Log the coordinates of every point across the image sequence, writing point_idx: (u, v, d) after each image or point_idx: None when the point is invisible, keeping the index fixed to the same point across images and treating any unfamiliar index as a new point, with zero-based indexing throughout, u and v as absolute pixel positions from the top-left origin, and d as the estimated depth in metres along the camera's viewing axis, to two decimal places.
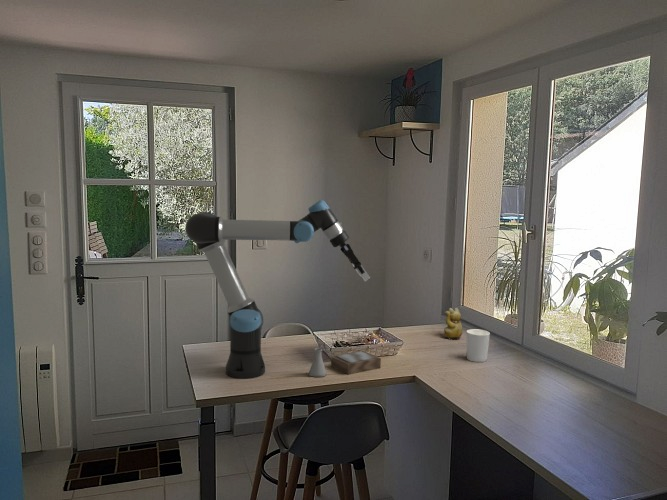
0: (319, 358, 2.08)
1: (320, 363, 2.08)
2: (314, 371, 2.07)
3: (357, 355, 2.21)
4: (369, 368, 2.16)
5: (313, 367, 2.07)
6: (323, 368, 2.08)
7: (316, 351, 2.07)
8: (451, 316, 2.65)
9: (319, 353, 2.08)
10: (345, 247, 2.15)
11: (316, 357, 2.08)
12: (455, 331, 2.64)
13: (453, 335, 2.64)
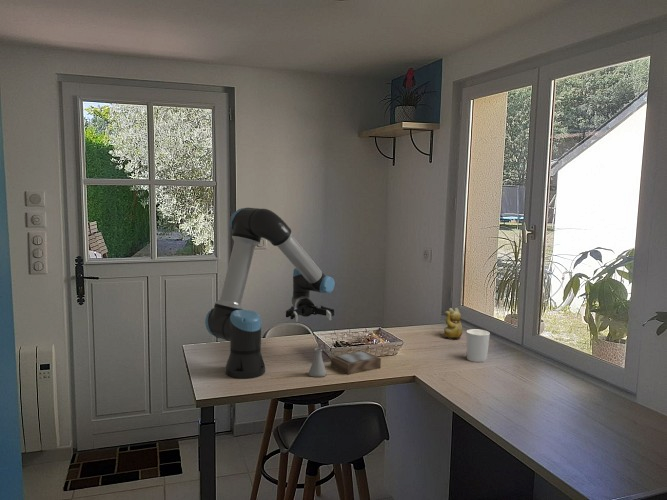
0: (319, 358, 2.08)
1: (320, 363, 2.08)
2: (314, 371, 2.07)
3: (357, 355, 2.21)
4: (369, 368, 2.16)
5: (313, 367, 2.07)
6: (323, 368, 2.08)
7: (316, 351, 2.07)
8: (451, 316, 2.65)
9: (319, 353, 2.08)
10: None
11: (316, 357, 2.08)
12: (455, 331, 2.64)
13: (453, 335, 2.64)
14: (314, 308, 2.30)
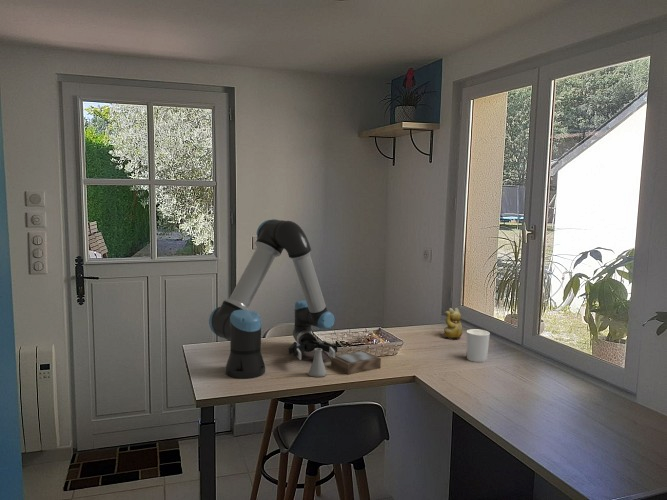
0: (319, 358, 2.08)
1: (320, 363, 2.08)
2: (314, 371, 2.07)
3: (357, 355, 2.21)
4: (369, 368, 2.16)
5: (313, 367, 2.07)
6: (323, 368, 2.08)
7: (316, 351, 2.07)
8: (451, 316, 2.65)
9: (319, 353, 2.08)
10: None
11: (316, 357, 2.08)
12: (455, 331, 2.64)
13: (453, 335, 2.64)
14: (317, 344, 2.28)
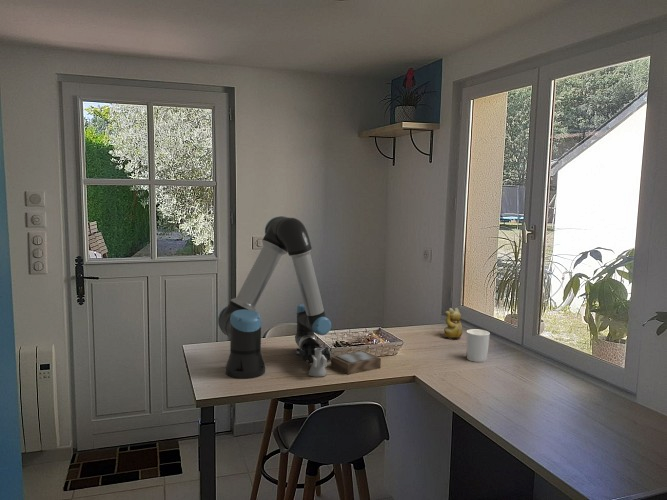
0: (319, 358, 2.08)
1: (320, 363, 2.08)
2: (314, 371, 2.07)
3: (357, 355, 2.21)
4: (369, 368, 2.16)
5: (313, 367, 2.07)
6: (323, 368, 2.08)
7: (316, 350, 2.07)
8: (451, 316, 2.65)
9: (319, 353, 2.08)
10: None
11: (316, 357, 2.08)
12: (455, 331, 2.64)
13: (453, 335, 2.64)
14: None
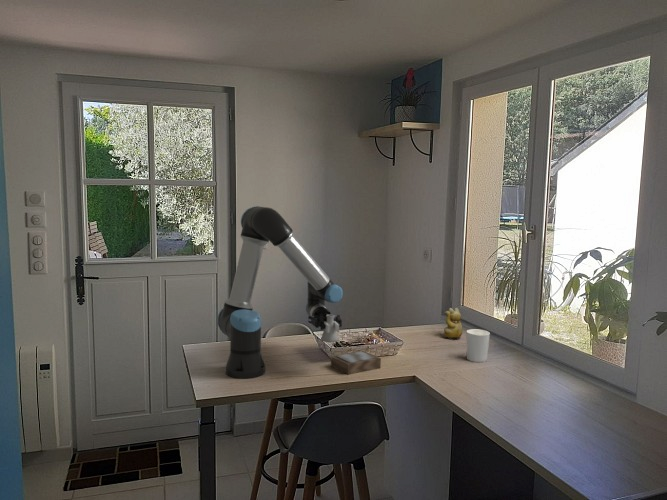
0: (331, 324, 2.09)
1: (332, 329, 2.09)
2: (326, 337, 2.08)
3: (357, 355, 2.21)
4: (369, 368, 2.16)
5: (325, 333, 2.09)
6: (335, 334, 2.09)
7: (328, 316, 2.09)
8: (451, 316, 2.65)
9: (331, 319, 2.09)
10: None
11: (328, 323, 2.09)
12: (455, 331, 2.64)
13: (453, 335, 2.64)
14: None
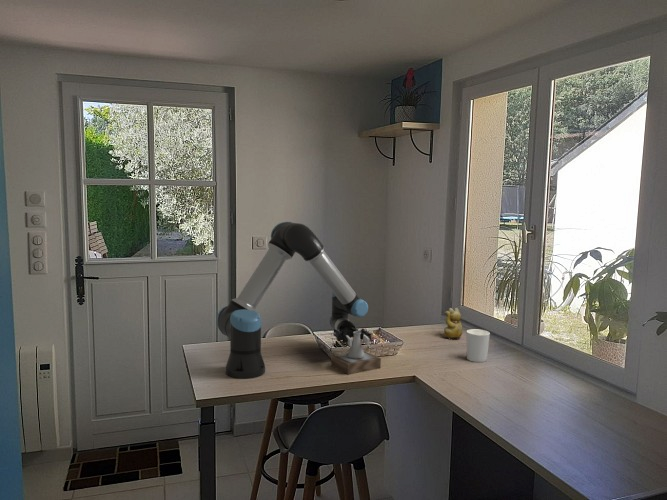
0: (358, 341, 2.17)
1: (359, 345, 2.17)
2: (353, 353, 2.16)
3: None
4: (369, 368, 2.16)
5: (352, 349, 2.17)
6: (361, 350, 2.17)
7: (355, 334, 2.17)
8: (451, 316, 2.65)
9: (358, 336, 2.17)
10: None
11: (355, 340, 2.17)
12: (455, 331, 2.64)
13: (453, 335, 2.64)
14: None
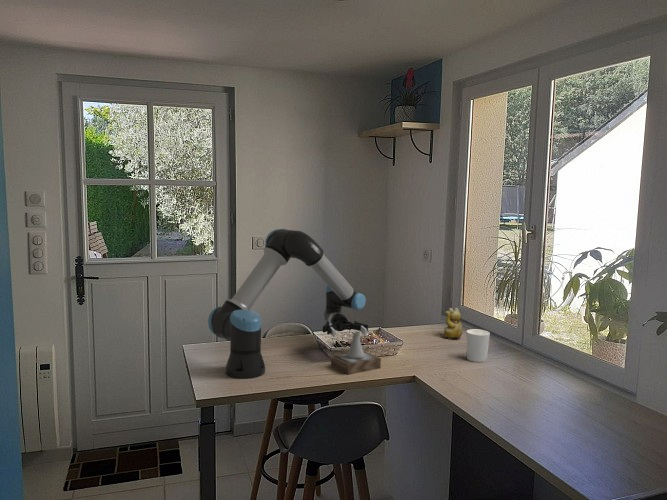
0: (357, 341, 2.17)
1: (358, 345, 2.17)
2: (353, 353, 2.16)
3: None
4: (369, 368, 2.16)
5: (352, 349, 2.17)
6: (361, 350, 2.18)
7: (355, 334, 2.17)
8: (451, 316, 2.65)
9: (357, 336, 2.17)
10: None
11: (355, 340, 2.17)
12: (455, 331, 2.64)
13: (453, 335, 2.64)
14: (348, 323, 2.41)
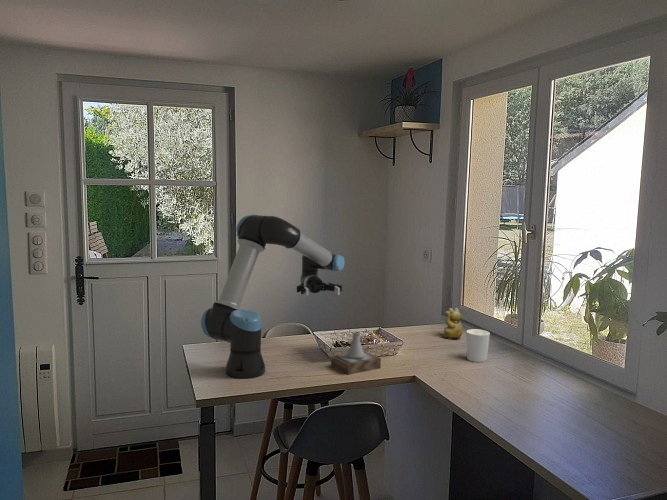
0: (357, 341, 2.17)
1: (358, 345, 2.17)
2: (353, 353, 2.16)
3: None
4: (369, 368, 2.16)
5: (352, 349, 2.17)
6: (361, 350, 2.18)
7: (355, 334, 2.17)
8: (451, 316, 2.65)
9: (357, 336, 2.17)
10: None
11: (355, 340, 2.17)
12: (455, 331, 2.64)
13: (453, 335, 2.64)
14: (323, 285, 2.44)
